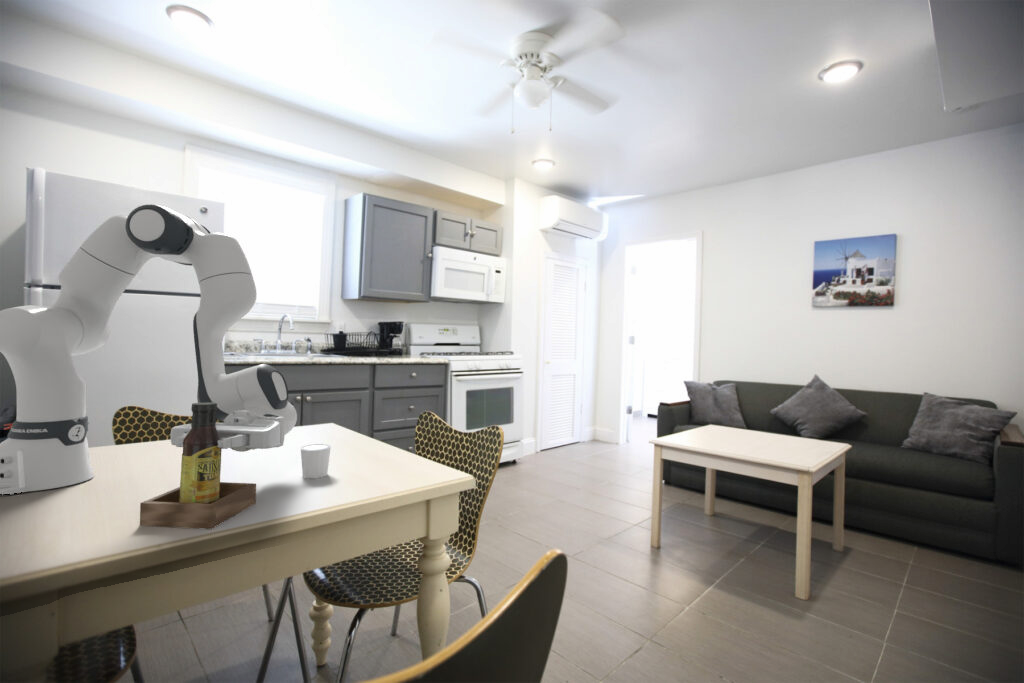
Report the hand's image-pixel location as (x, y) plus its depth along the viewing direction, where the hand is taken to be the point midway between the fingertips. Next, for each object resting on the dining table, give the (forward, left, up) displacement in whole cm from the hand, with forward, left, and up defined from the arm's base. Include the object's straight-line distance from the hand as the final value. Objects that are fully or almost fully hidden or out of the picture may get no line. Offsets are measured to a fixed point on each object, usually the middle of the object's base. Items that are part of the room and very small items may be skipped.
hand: (200, 443), depth 88 cm
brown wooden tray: (0, +1, -13) cm, 13 cm away
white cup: (+9, +28, -14) cm, 32 cm away
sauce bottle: (0, 0, -13) cm, 13 cm away
